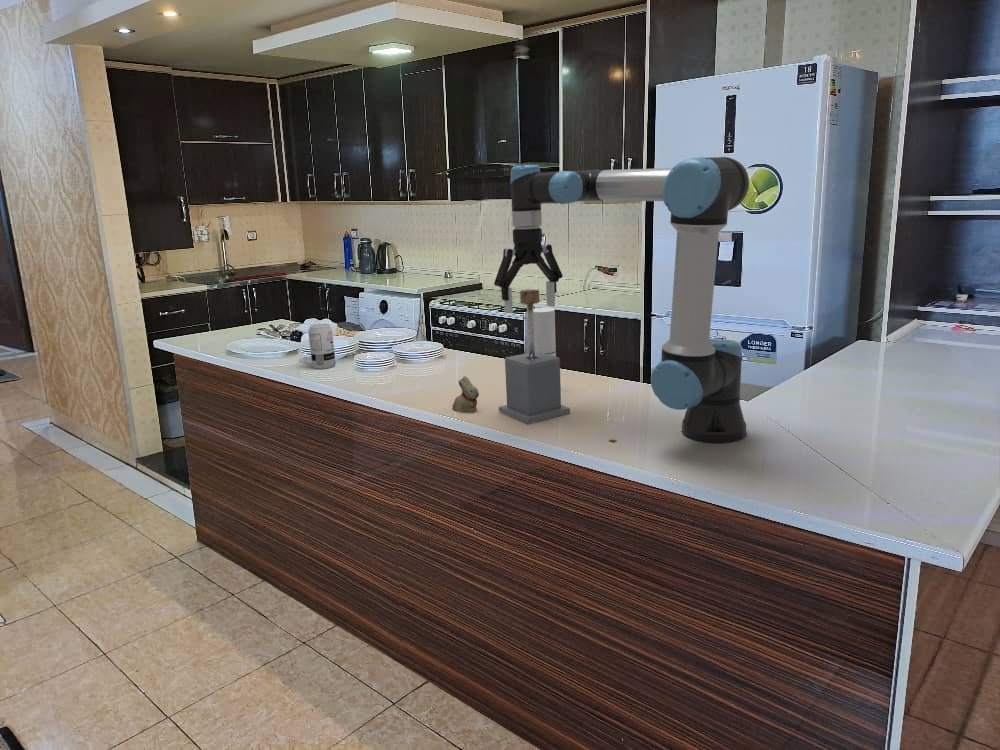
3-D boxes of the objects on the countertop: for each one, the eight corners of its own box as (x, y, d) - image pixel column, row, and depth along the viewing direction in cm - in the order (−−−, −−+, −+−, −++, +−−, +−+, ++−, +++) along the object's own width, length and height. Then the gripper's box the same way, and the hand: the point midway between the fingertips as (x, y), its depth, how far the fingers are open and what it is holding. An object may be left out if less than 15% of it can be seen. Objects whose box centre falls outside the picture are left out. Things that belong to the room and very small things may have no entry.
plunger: (553, 365, 197) (551, 290, 192) (528, 371, 193) (525, 294, 188) (535, 360, 204) (533, 287, 199) (511, 365, 200) (507, 291, 194)
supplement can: (311, 365, 268) (307, 325, 264) (334, 363, 270) (330, 322, 266) (313, 370, 260) (308, 329, 257) (336, 367, 263) (332, 326, 259)
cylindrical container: (555, 395, 216) (552, 312, 210) (531, 395, 218) (528, 312, 211) (558, 389, 223) (556, 307, 217) (535, 388, 225) (532, 307, 218)
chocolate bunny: (464, 415, 203) (462, 380, 200) (450, 408, 209) (448, 374, 207) (481, 411, 206) (479, 376, 203) (466, 404, 212) (464, 371, 209)
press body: (570, 413, 200) (568, 357, 196) (527, 424, 193) (525, 367, 189) (539, 402, 211) (537, 349, 207) (498, 411, 204) (496, 357, 200)
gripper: (557, 223, 198) (559, 301, 204) (478, 230, 186) (482, 313, 191) (574, 224, 192) (576, 304, 198) (494, 231, 180) (498, 317, 185)
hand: (530, 309), depth 194 cm, fingers open, 13 cm apart
